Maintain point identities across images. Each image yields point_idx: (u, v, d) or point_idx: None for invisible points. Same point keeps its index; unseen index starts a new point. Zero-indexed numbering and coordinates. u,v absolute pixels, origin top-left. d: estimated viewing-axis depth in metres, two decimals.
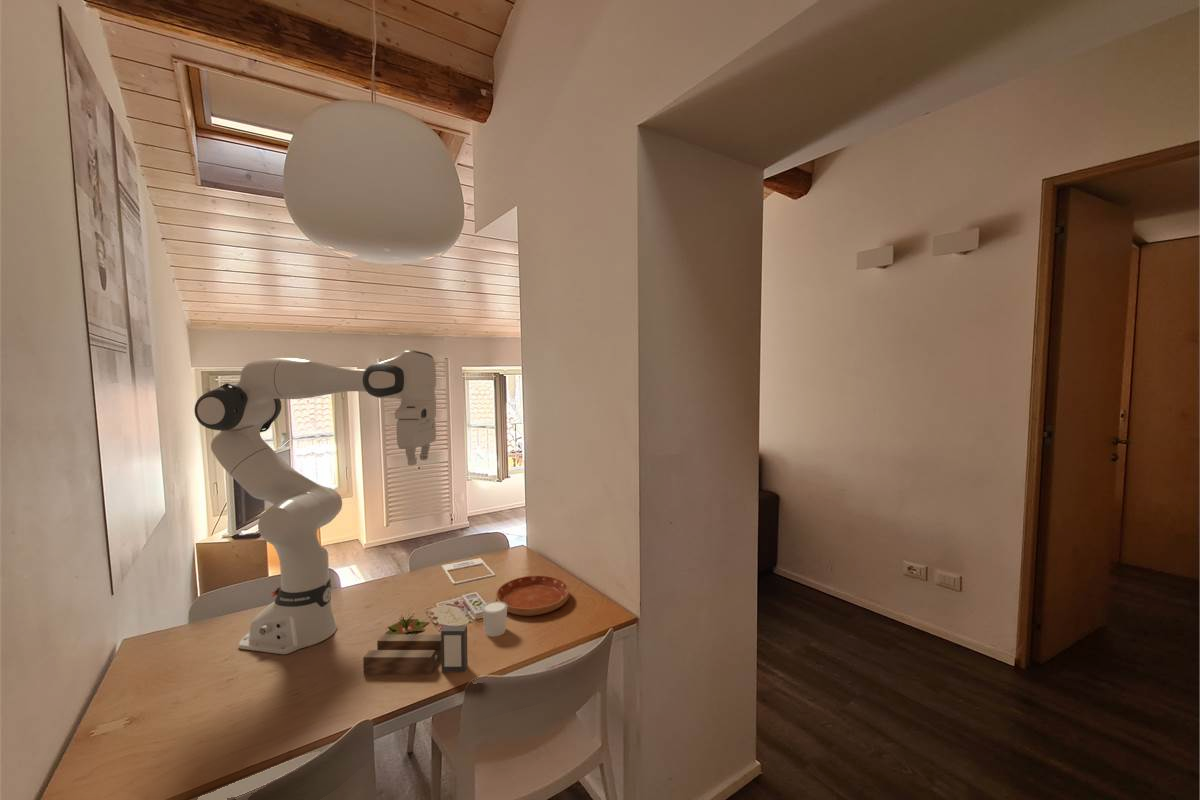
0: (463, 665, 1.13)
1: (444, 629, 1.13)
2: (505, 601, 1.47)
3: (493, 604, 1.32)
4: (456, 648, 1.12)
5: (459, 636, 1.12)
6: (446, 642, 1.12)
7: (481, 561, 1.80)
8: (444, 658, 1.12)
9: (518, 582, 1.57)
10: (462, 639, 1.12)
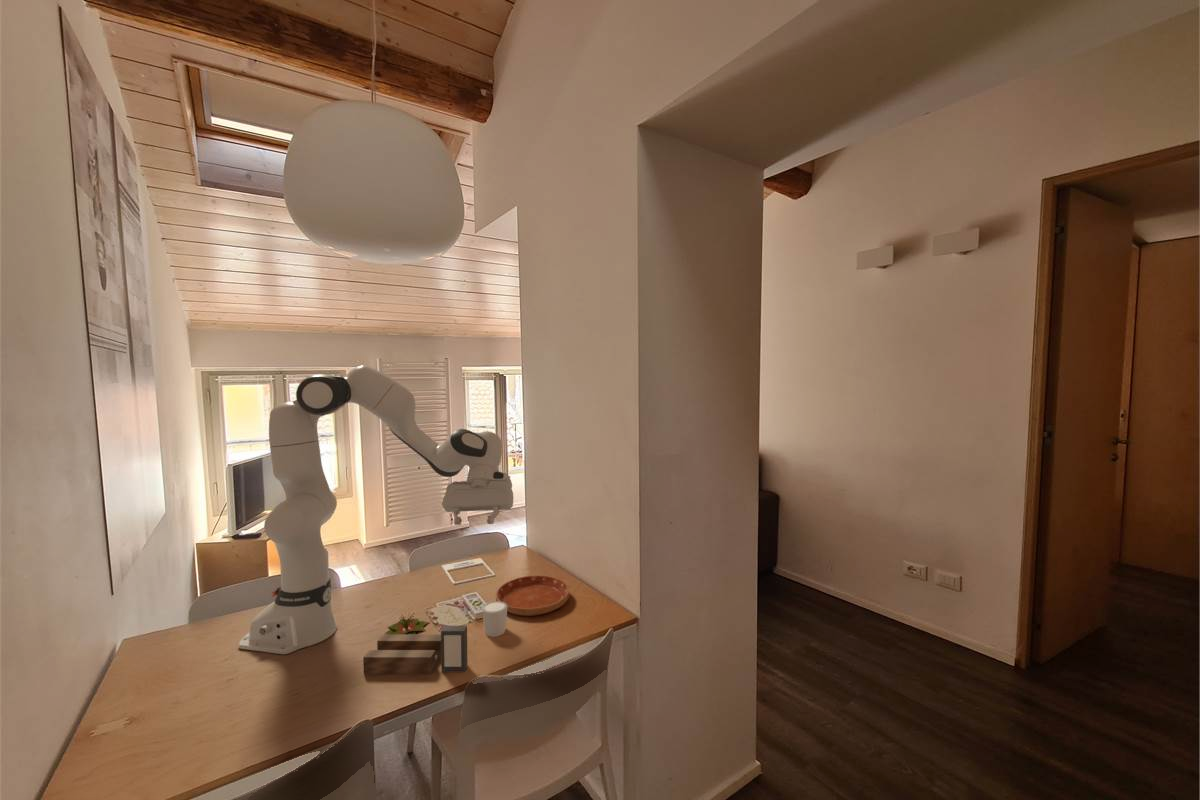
0: (463, 665, 1.13)
1: (444, 629, 1.13)
2: (505, 601, 1.47)
3: (493, 604, 1.32)
4: (456, 648, 1.12)
5: (459, 636, 1.12)
6: (446, 642, 1.12)
7: (481, 561, 1.80)
8: (444, 658, 1.12)
9: (518, 582, 1.57)
10: (462, 639, 1.12)
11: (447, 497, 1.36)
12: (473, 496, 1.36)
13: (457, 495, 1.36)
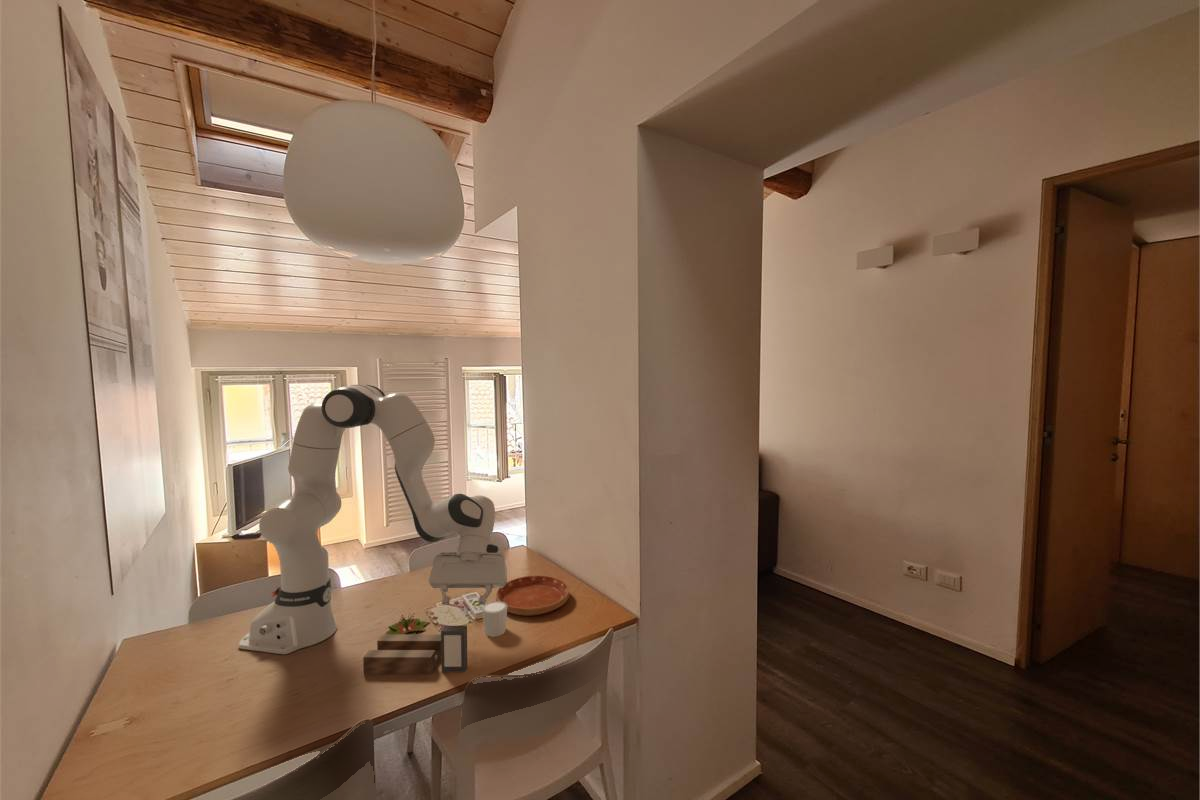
0: (463, 665, 1.13)
1: (444, 629, 1.13)
2: (505, 601, 1.47)
3: (493, 604, 1.32)
4: (456, 648, 1.12)
5: (459, 636, 1.12)
6: (446, 642, 1.12)
7: None
8: (444, 658, 1.12)
9: (518, 582, 1.57)
10: (462, 639, 1.12)
11: (435, 573, 1.25)
12: (464, 572, 1.25)
13: (446, 570, 1.25)
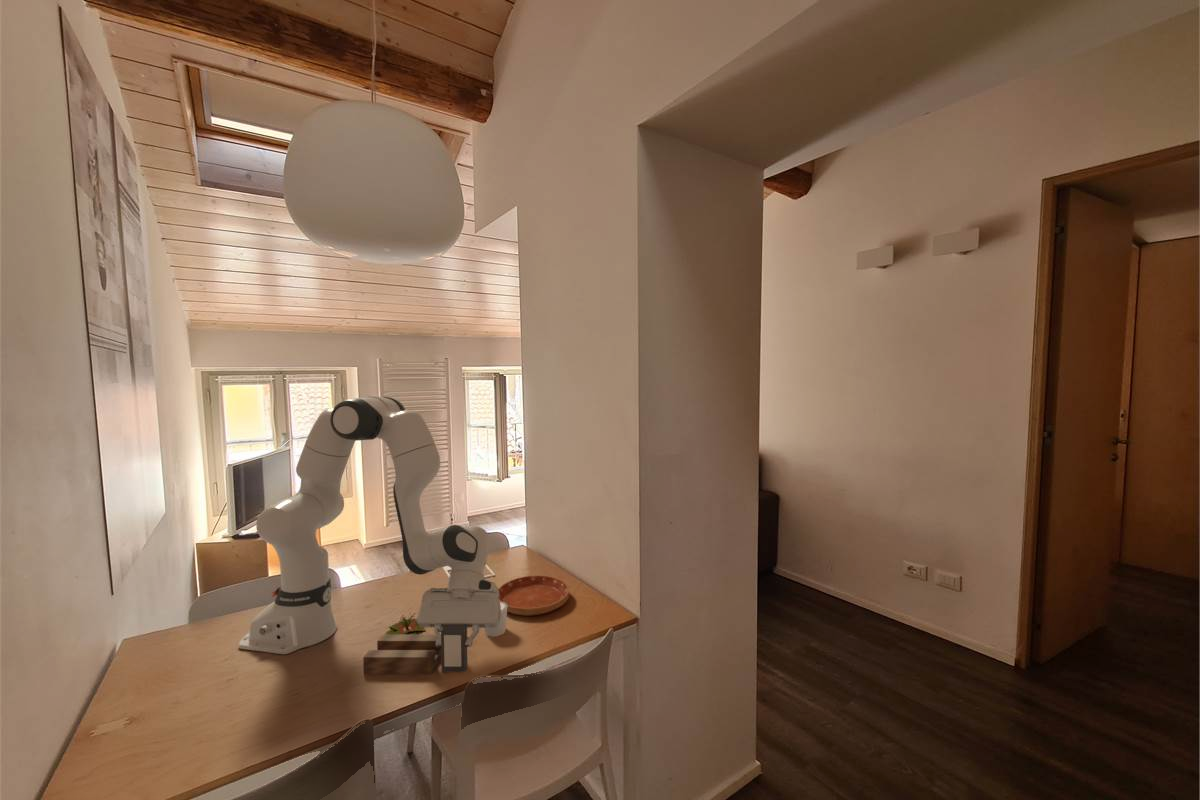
0: (463, 665, 1.13)
1: (444, 629, 1.13)
2: (505, 601, 1.47)
3: None
4: (456, 648, 1.12)
5: (459, 636, 1.12)
6: (446, 642, 1.12)
7: None
8: (444, 658, 1.12)
9: (518, 582, 1.57)
10: (462, 639, 1.12)
11: (423, 611, 1.17)
12: (455, 611, 1.17)
13: (435, 608, 1.17)
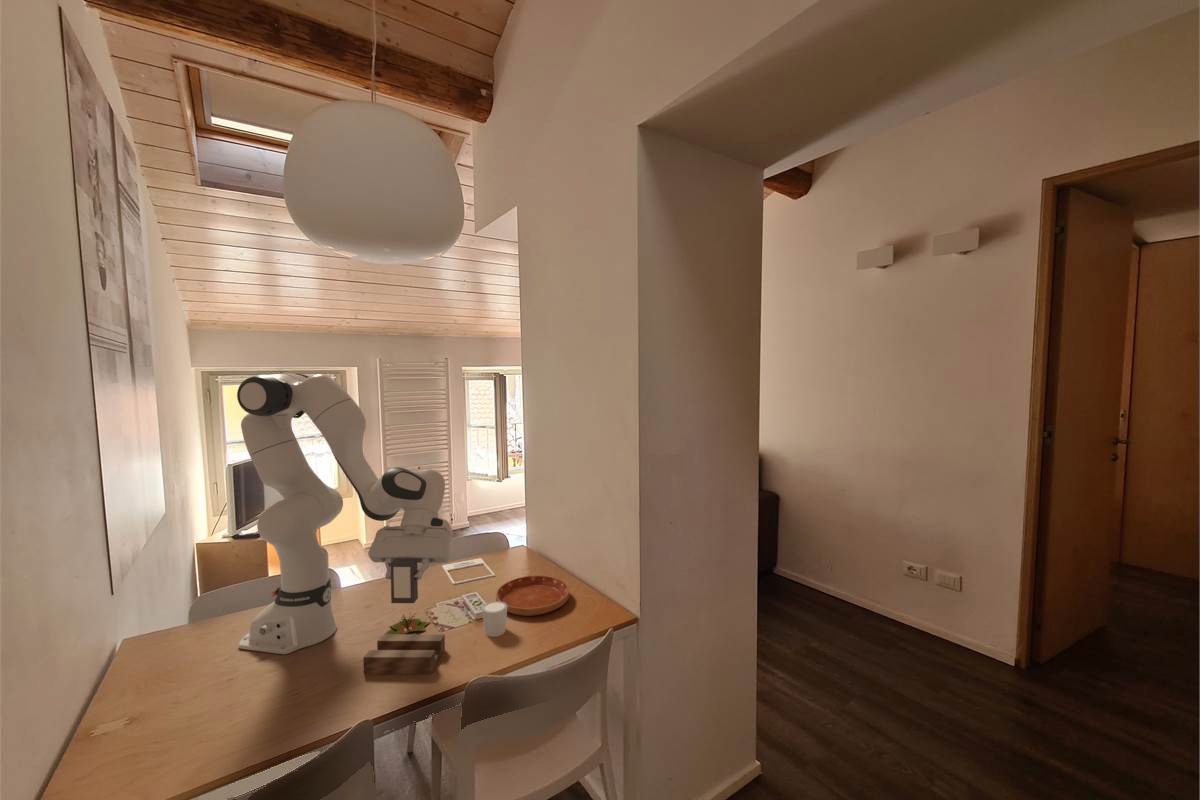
0: (412, 596, 1.15)
1: (394, 561, 1.15)
2: (505, 601, 1.47)
3: (493, 604, 1.32)
4: (405, 580, 1.15)
5: (408, 568, 1.14)
6: (395, 574, 1.15)
7: (481, 561, 1.80)
8: (394, 589, 1.15)
9: (518, 582, 1.57)
10: (411, 571, 1.15)
11: (375, 546, 1.19)
12: (406, 546, 1.19)
13: (387, 543, 1.19)
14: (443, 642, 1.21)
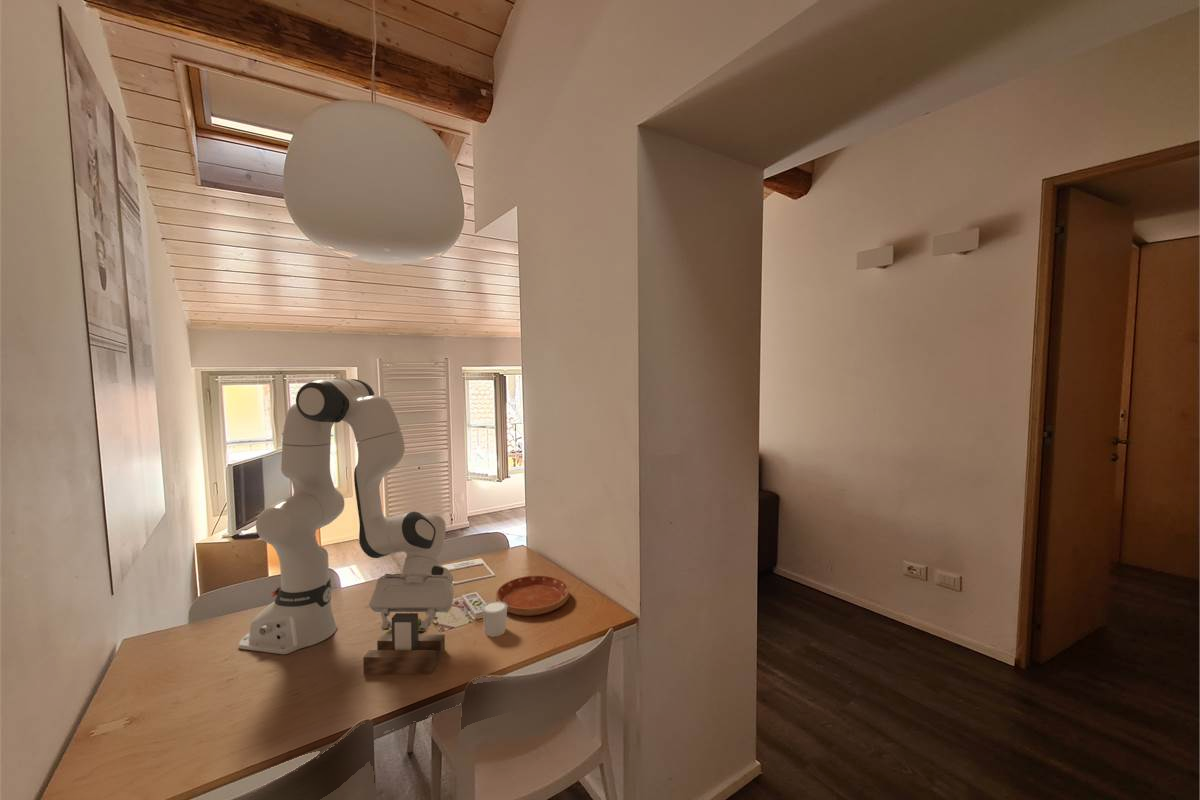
0: None
1: (395, 616, 1.16)
2: (505, 601, 1.47)
3: (493, 604, 1.32)
4: (406, 635, 1.15)
5: (409, 623, 1.15)
6: (396, 629, 1.15)
7: (481, 561, 1.80)
8: (395, 645, 1.15)
9: (518, 582, 1.57)
10: (412, 626, 1.15)
11: (376, 596, 1.20)
12: (407, 596, 1.20)
13: (388, 593, 1.20)
14: (443, 642, 1.21)
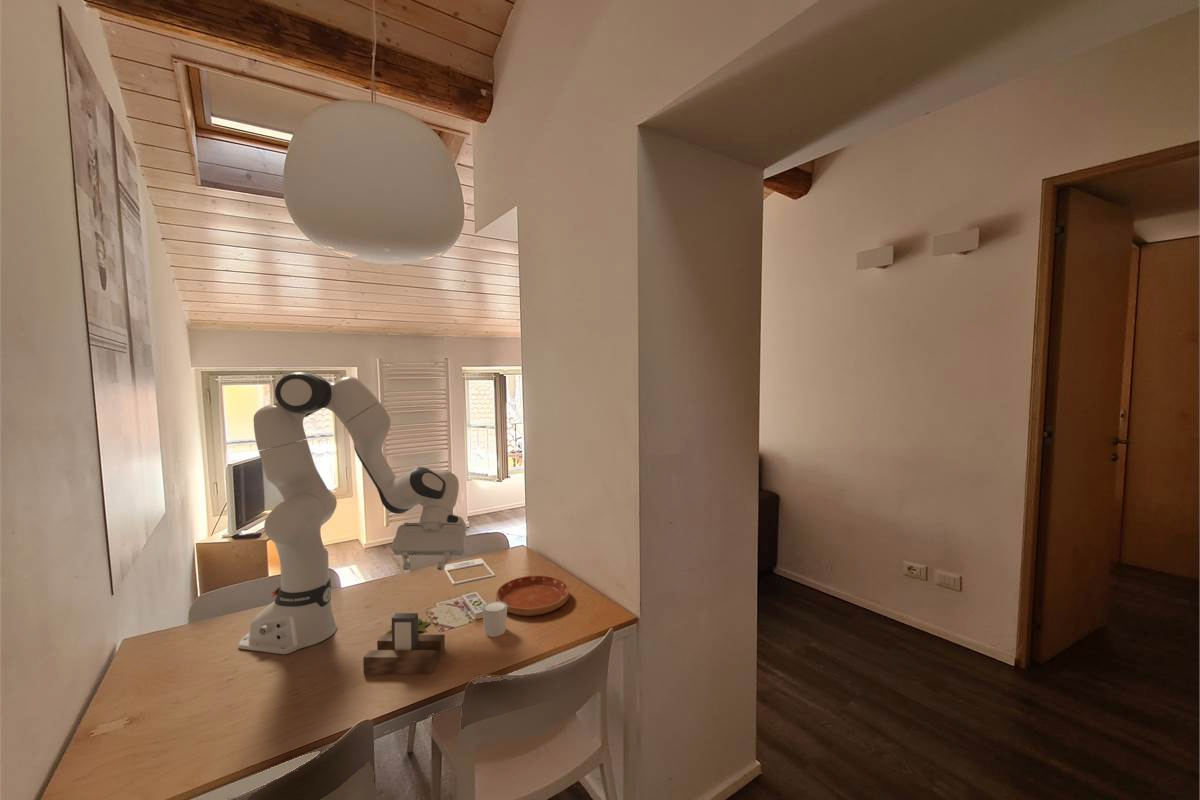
0: None
1: (395, 616, 1.16)
2: (505, 601, 1.47)
3: (493, 604, 1.32)
4: (406, 635, 1.15)
5: (409, 623, 1.15)
6: (396, 629, 1.15)
7: (482, 561, 1.80)
8: (395, 645, 1.15)
9: (518, 582, 1.57)
10: (412, 626, 1.15)
11: (397, 540, 1.32)
12: (425, 540, 1.32)
13: (408, 538, 1.32)
14: (443, 642, 1.21)
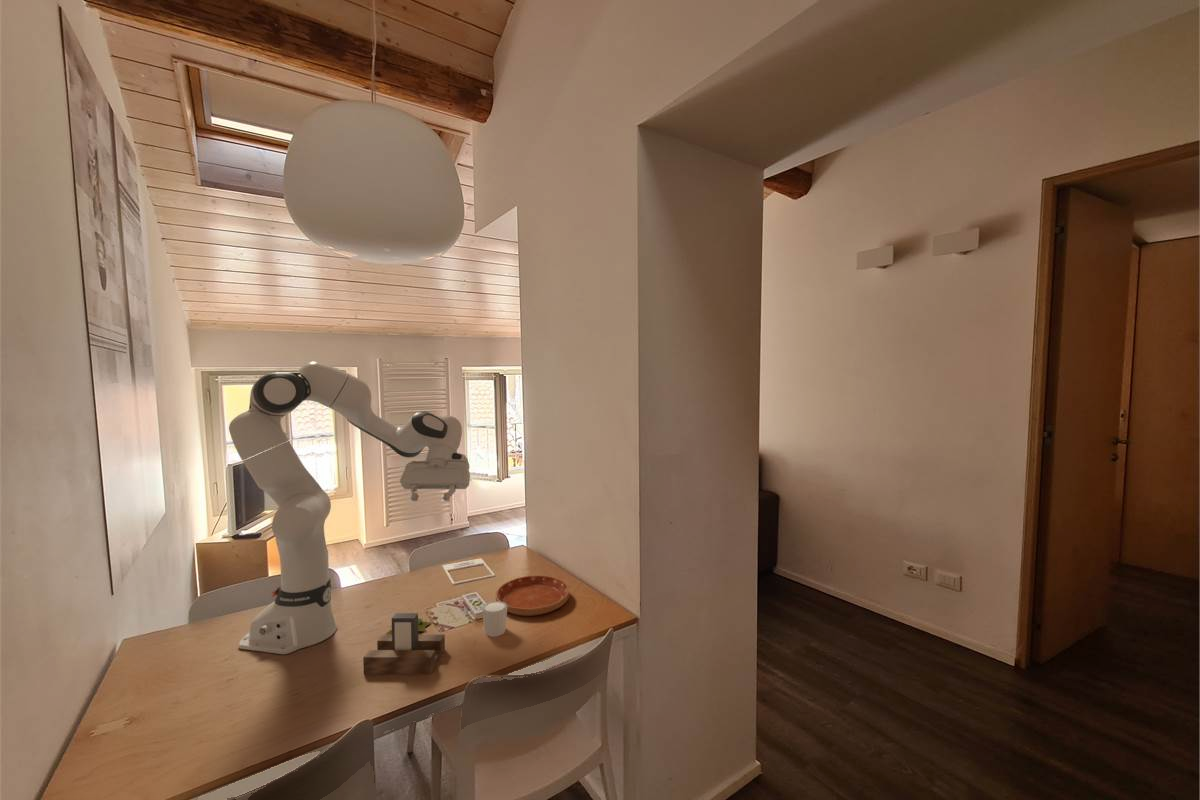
0: None
1: (395, 616, 1.16)
2: (505, 601, 1.47)
3: (493, 604, 1.32)
4: (406, 635, 1.15)
5: (409, 623, 1.15)
6: (396, 629, 1.15)
7: (482, 561, 1.80)
8: (395, 645, 1.15)
9: (518, 582, 1.57)
10: (412, 626, 1.15)
11: (406, 475, 1.42)
12: (431, 475, 1.42)
13: (415, 473, 1.43)
14: (443, 642, 1.21)
